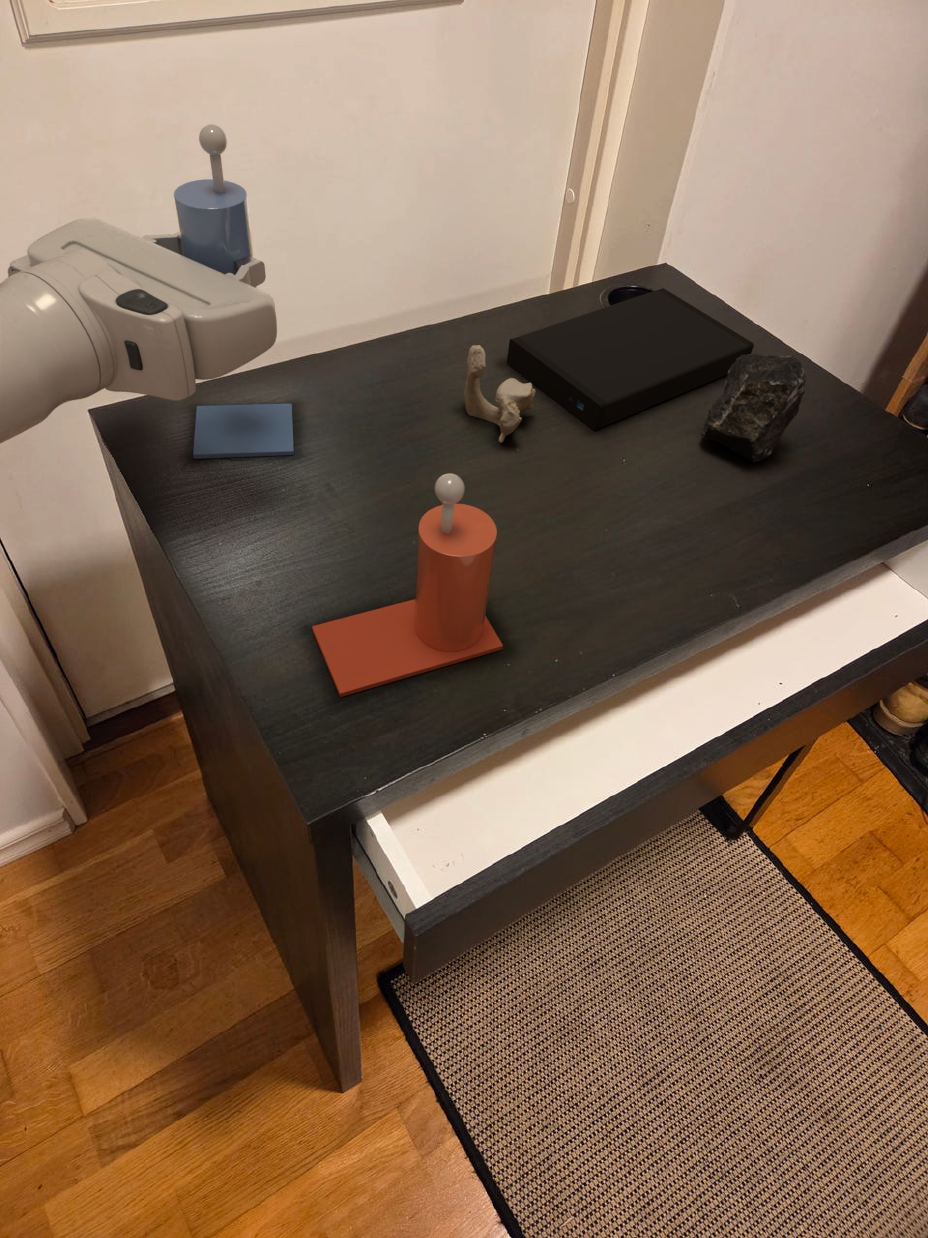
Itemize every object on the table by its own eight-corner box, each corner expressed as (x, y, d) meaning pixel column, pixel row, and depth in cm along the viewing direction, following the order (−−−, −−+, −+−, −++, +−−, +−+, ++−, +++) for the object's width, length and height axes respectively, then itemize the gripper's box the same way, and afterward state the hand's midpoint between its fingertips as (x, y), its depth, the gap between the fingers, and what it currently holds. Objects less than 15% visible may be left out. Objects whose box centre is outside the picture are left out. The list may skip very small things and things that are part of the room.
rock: (786, 445, 86) (824, 356, 79) (759, 480, 82) (797, 390, 75) (714, 415, 89) (745, 326, 81) (685, 447, 85) (714, 357, 77)
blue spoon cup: (215, 339, 70) (186, 146, 59) (182, 310, 72) (148, 121, 61) (272, 320, 72) (254, 132, 61) (237, 293, 75) (214, 108, 64)
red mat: (339, 697, 61) (339, 693, 61) (312, 630, 65) (311, 626, 65) (502, 649, 65) (503, 645, 65) (466, 589, 69) (467, 584, 69)
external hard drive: (745, 367, 95) (754, 343, 93) (594, 431, 85) (600, 406, 83) (655, 310, 103) (662, 287, 100) (506, 363, 92) (509, 338, 90)
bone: (566, 425, 83) (529, 353, 75) (514, 467, 83) (472, 400, 75) (521, 384, 88) (482, 313, 80) (473, 424, 88) (429, 357, 81)
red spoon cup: (418, 654, 64) (426, 505, 53) (410, 601, 67) (416, 451, 56) (489, 649, 65) (511, 501, 54) (477, 597, 68) (496, 448, 57)
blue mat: (193, 458, 78) (192, 454, 77) (197, 410, 83) (196, 405, 82) (294, 455, 79) (293, 450, 79) (291, 407, 84) (291, 403, 84)
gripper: (6, 311, 67) (144, 251, 75) (198, 410, 60) (325, 333, 68) (-21, 230, 62) (128, 175, 70) (183, 328, 55) (322, 255, 63)
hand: (227, 254), depth 69 cm, fingers closed on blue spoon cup, 5 cm apart
